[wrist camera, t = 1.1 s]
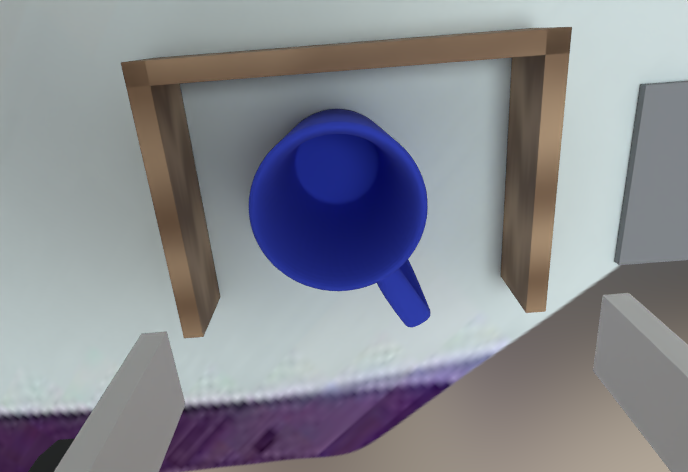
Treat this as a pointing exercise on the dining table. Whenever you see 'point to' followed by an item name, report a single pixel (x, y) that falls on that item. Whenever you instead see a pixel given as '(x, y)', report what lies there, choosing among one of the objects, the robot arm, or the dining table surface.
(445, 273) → the dining table surface
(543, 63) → the wooden u-shaped frame
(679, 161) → the mat
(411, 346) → the dining table surface
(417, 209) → the mug
